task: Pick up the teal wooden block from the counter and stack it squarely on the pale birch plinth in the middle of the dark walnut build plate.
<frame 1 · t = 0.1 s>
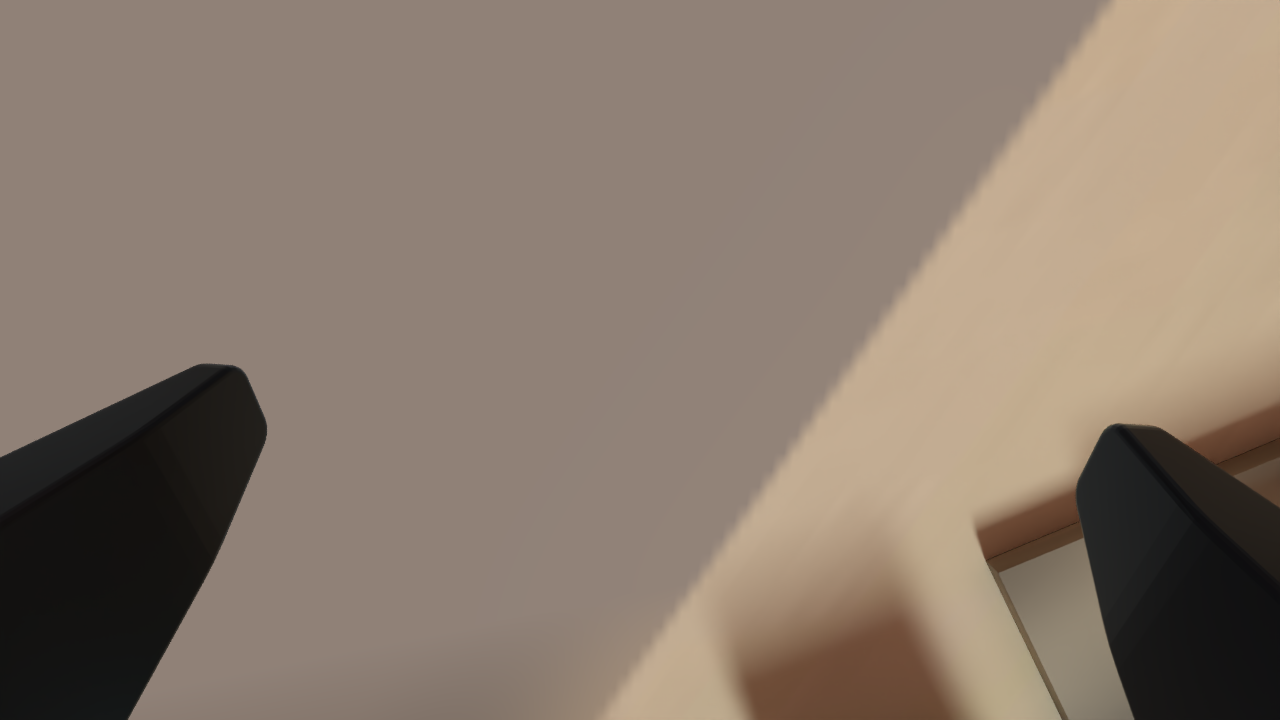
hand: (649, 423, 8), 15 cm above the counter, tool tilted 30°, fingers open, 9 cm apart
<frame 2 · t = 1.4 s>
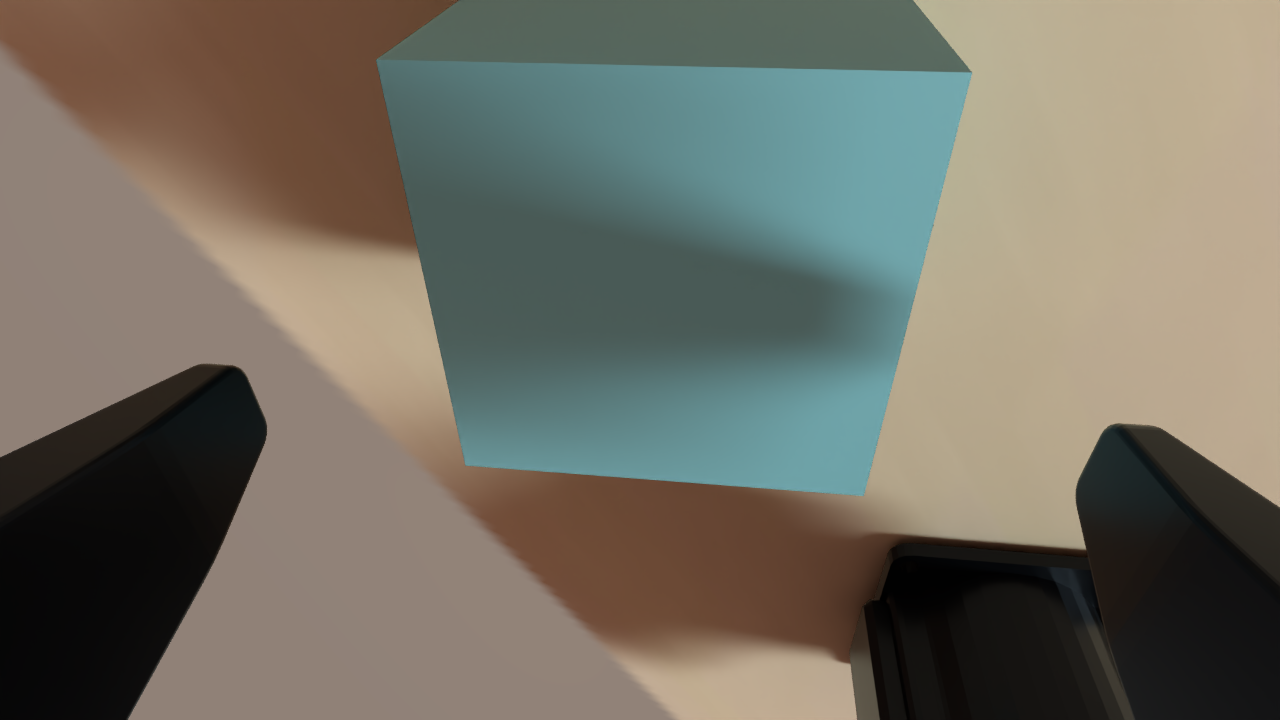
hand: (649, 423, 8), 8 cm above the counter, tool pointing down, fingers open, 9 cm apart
teal block: (689, 138, 14), on the counter
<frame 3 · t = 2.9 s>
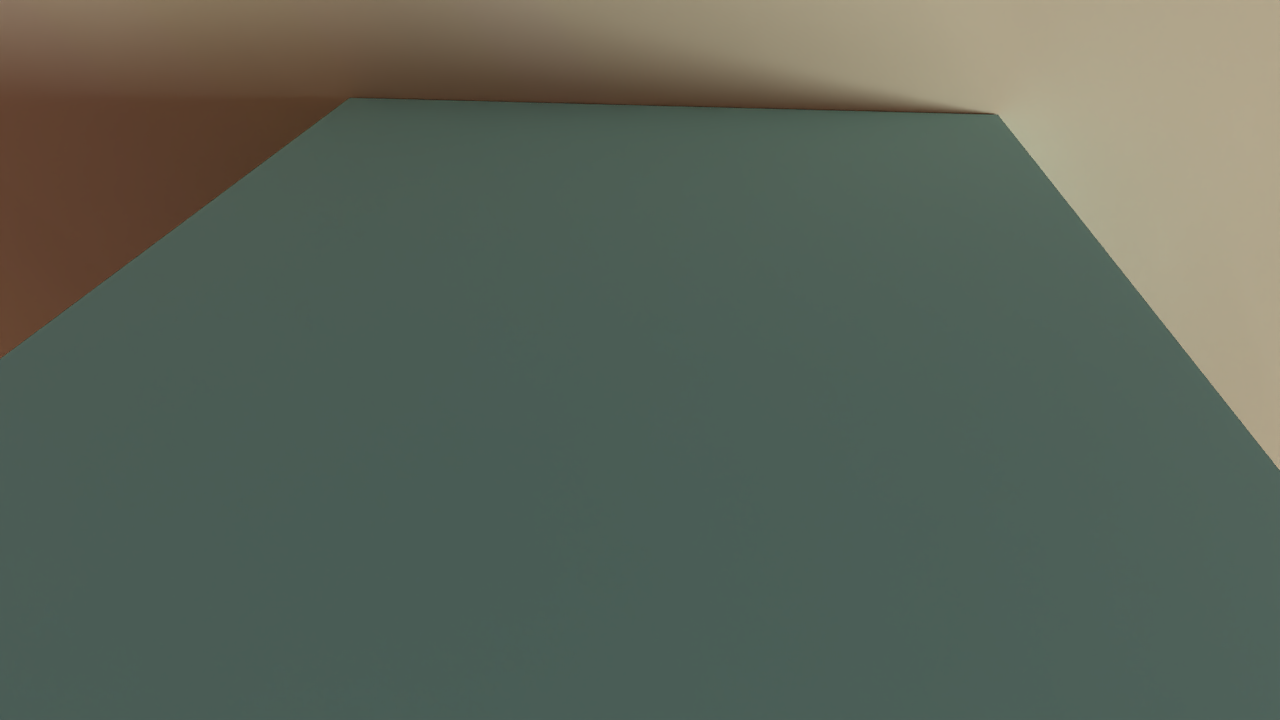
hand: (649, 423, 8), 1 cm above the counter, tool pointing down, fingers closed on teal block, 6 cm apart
teal block: (658, 363, 9), on the counter, touching gripper
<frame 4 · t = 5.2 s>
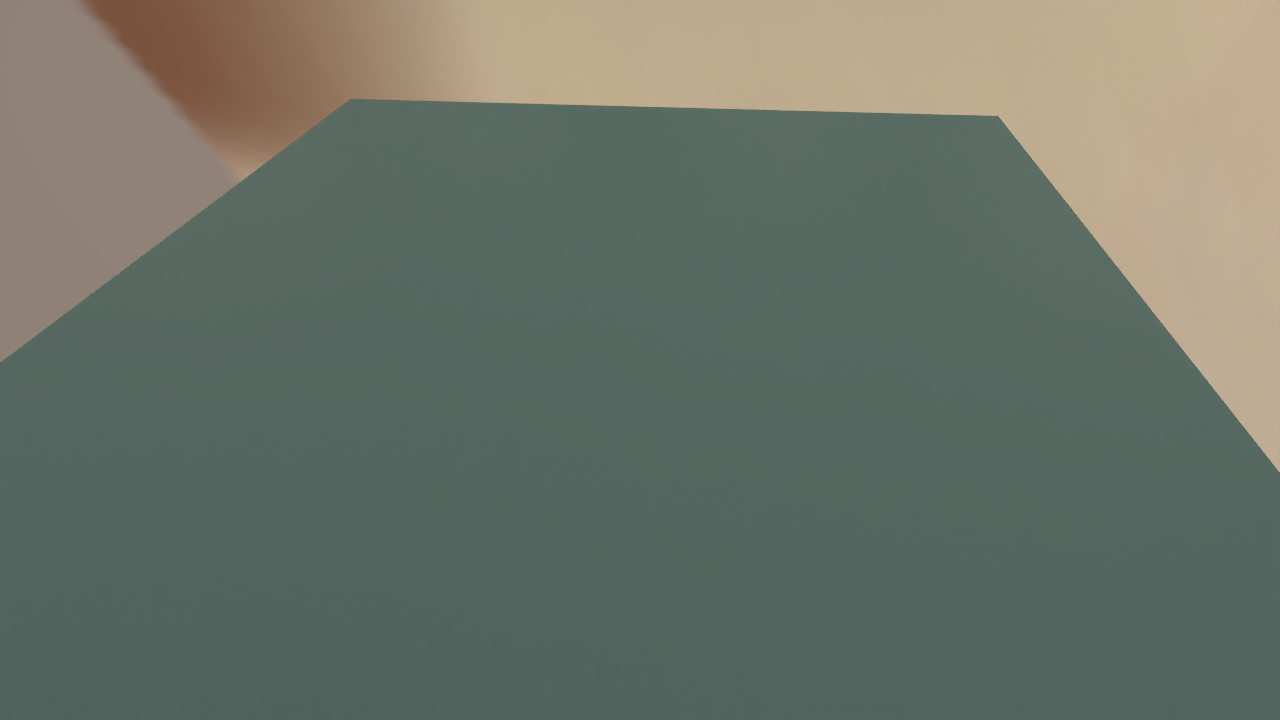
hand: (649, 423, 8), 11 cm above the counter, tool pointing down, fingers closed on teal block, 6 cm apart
teal block: (659, 364, 9), point 10 cm above the counter, touching gripper
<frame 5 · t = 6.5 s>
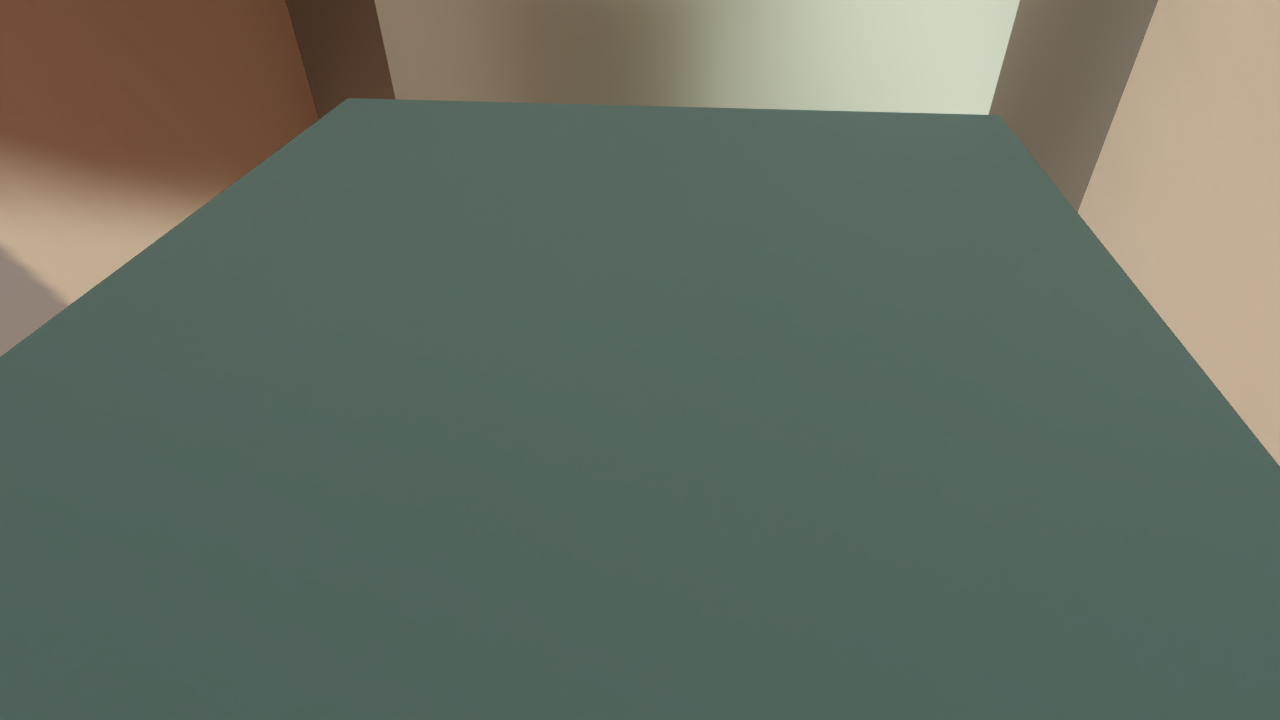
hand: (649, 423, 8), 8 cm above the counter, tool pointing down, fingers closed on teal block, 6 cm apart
build plate: (693, 133, 14), on the counter
teal block: (658, 364, 9), point 7 cm above the counter, touching gripper
when the fingers open (6 cm above the counter, at t = 7.6 s): teal block drops 1 cm, resting on build plate.
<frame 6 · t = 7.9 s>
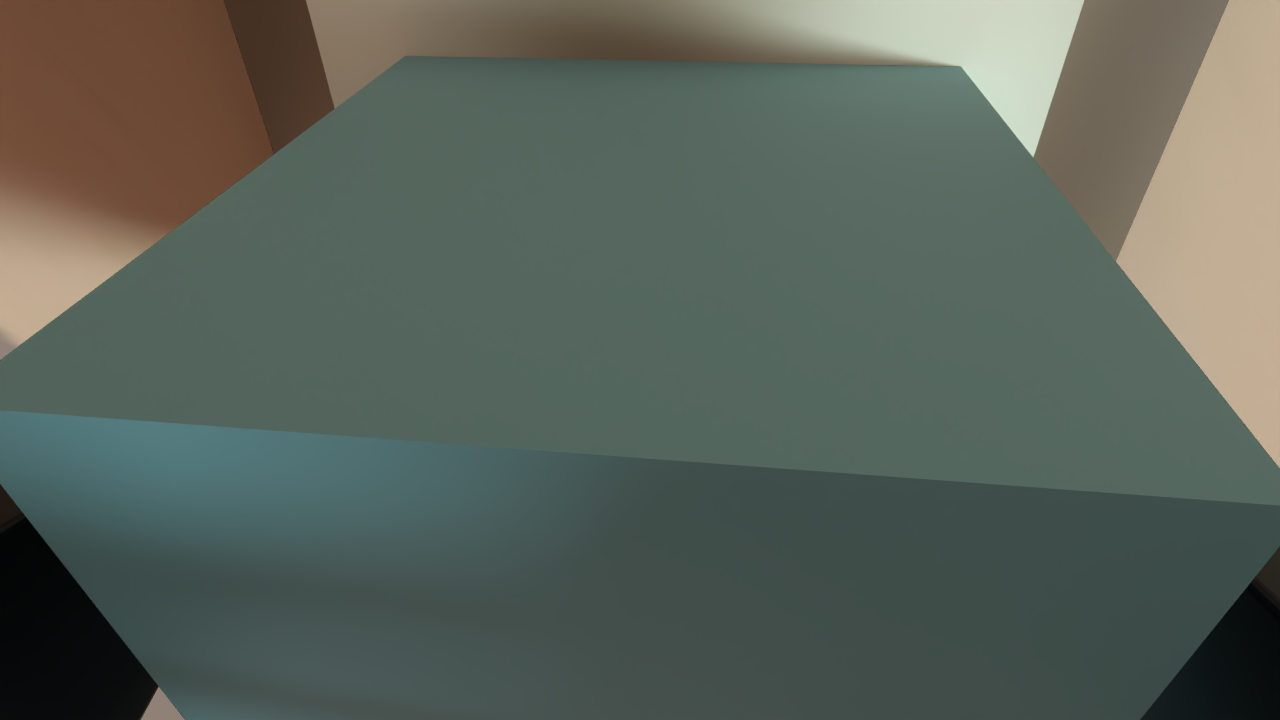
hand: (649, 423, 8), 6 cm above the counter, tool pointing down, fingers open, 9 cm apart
build plate: (688, 173, 13), on the counter
teal block: (669, 296, 10), point 4 cm above the counter, touching build plate
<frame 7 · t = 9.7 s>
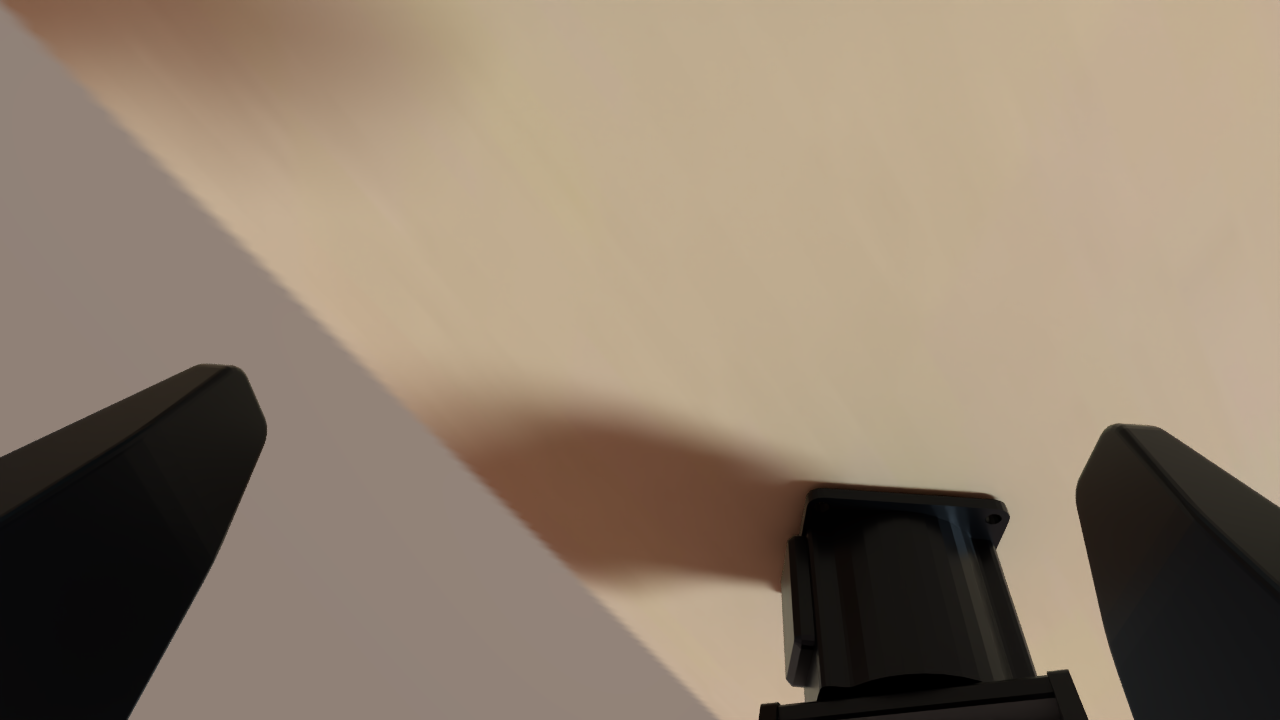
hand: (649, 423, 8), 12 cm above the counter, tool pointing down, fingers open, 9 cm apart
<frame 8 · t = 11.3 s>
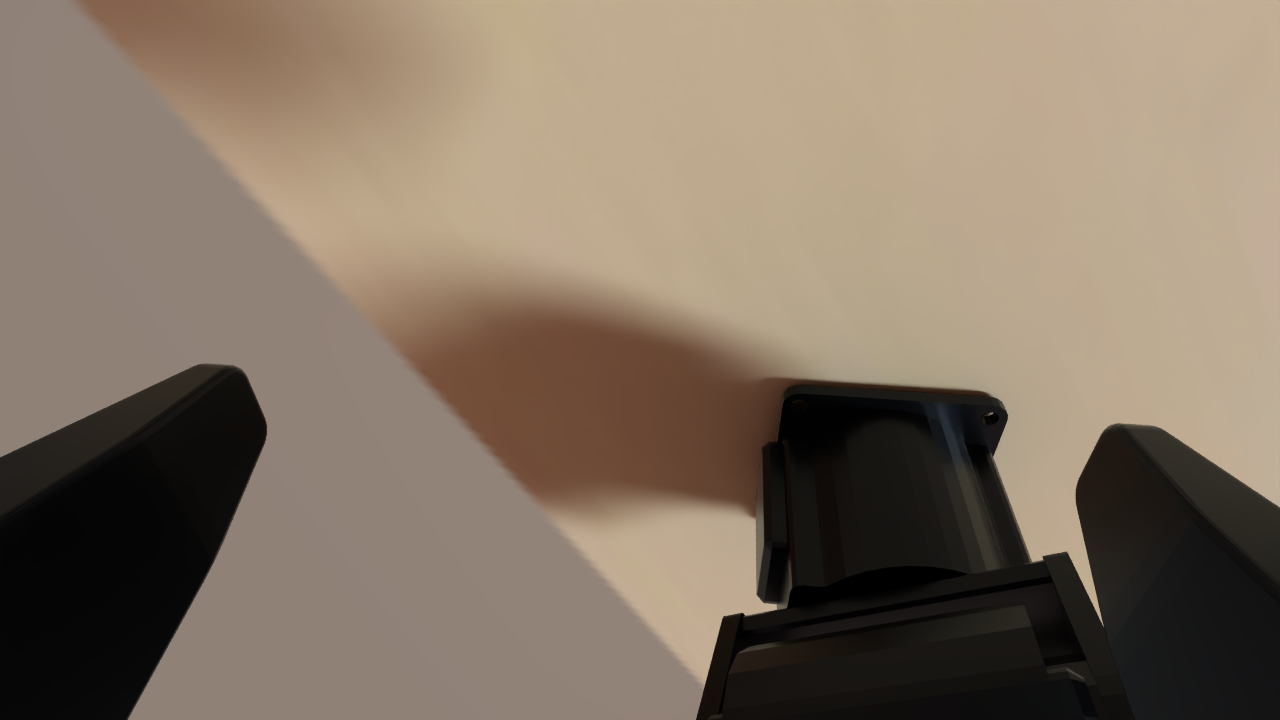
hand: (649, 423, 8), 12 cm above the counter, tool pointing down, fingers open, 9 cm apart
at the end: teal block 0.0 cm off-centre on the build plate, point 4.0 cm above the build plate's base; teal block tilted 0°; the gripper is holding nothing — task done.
